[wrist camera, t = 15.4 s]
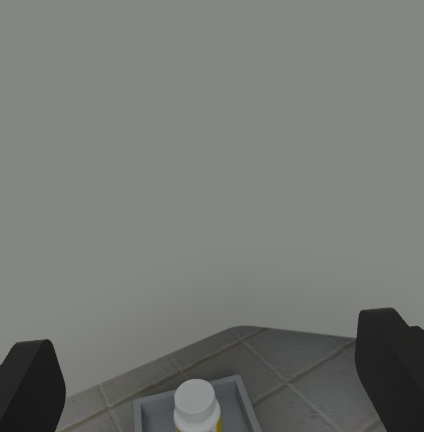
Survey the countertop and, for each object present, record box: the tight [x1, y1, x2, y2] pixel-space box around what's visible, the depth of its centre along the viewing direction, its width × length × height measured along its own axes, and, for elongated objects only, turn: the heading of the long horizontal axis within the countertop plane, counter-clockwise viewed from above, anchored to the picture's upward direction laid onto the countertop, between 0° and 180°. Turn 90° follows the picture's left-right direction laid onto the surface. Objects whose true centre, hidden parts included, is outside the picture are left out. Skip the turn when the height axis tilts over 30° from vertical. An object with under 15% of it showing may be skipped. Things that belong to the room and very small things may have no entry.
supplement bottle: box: [174, 379, 223, 432], centre depth 37 cm, size 5×5×8 cm
